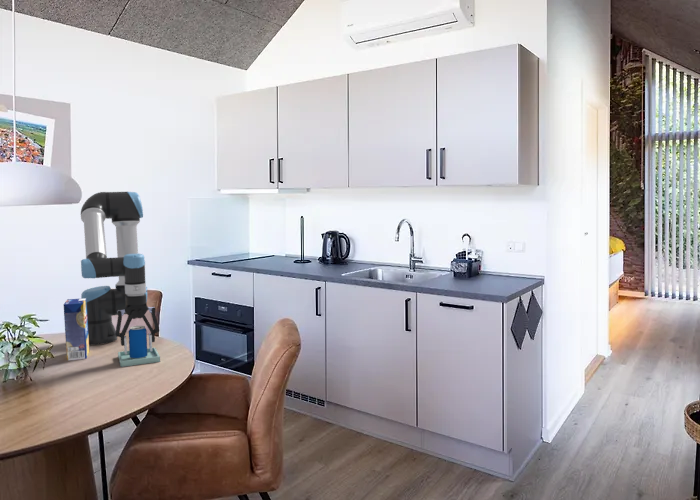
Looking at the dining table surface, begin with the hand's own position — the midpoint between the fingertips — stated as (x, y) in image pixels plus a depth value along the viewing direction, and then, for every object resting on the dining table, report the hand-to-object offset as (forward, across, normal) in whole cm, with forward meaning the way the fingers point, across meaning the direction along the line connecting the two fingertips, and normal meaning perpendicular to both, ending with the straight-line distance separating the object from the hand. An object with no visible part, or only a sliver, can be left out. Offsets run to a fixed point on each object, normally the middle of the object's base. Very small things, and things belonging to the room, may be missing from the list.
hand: (138, 351), depth 217 cm
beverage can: (+3, 0, 0) cm, 3 cm away
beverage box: (+3, -21, +16) cm, 27 cm away
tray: (+3, 0, 0) cm, 3 cm away
